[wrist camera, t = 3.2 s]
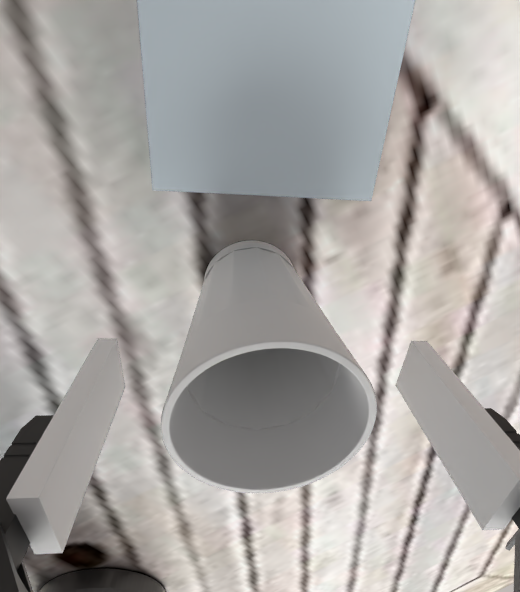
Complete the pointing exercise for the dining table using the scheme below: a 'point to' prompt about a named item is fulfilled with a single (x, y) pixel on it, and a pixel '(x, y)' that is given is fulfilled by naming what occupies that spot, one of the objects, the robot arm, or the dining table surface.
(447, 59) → the dining table surface
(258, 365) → the cup
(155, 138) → the pedestal block
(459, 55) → the dining table surface
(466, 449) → the robot arm
